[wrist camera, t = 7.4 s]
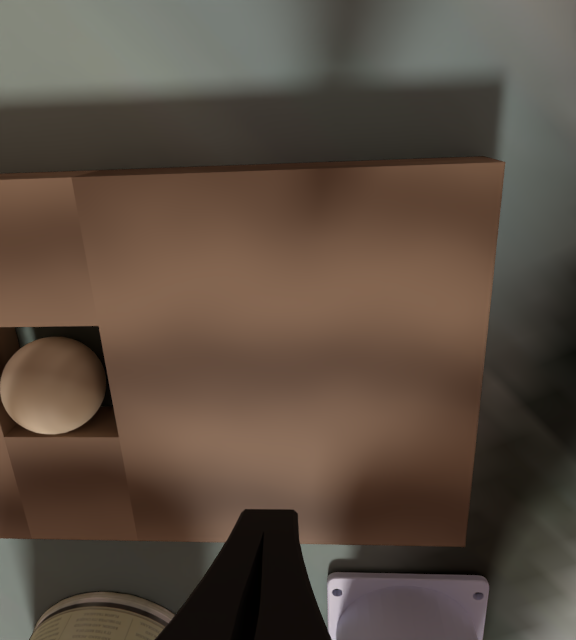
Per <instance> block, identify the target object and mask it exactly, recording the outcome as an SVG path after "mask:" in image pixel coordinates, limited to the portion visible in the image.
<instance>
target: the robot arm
mask: <svg viewBox="0 0 576 640" xmlns="http://www.w3.org/2000/svg"><path fill="white" fill-rule="evenodd" d="M335 589H340V590H335ZM477 592H479V593H477ZM488 594H489V584H488V581H487V579H486V578H485V577H483V576H479V575H445V574H400V573H355V572H334V573H331V574H330V575H329V576H328V578H327V605H328V630H327V627H326V625H325V623H324V620H323V618H322V615H321V612H320V610H319V607H318V604H317V602H316V599H315V596H314V593H313V590H312V587H311V584H310V581H309V578H308V574H307V571H306V567H305V564H304V560H303V556H302V551H301V546H300V541H299V526H298V513H297V512H296V511H295V510H293V509H245V510H244V511H242V512H241V514H240V516H239V518H238V520H237V522H236V524H235V526H234V528H233V530H232V532H231V533H230V535H229V537H228V539H227V540H226V542H225V544H224V546H223V547H222V549H221V551H220V552H219V554H218V555H217V557H216V558H215V560H214V562H213V563H212V565H211V566H210V568H209V569H208V571H207V573H206V574H205V575H204V577H203V578H202V580H201V581H200V583H199V584H198V585H197V587H196V588H195V590H194V591H193V592H192V594H191V595H190V596H189V598H188V599H187V601H186V602H185V603H184V605H183V606H182V607H181V608H180V610H179V611H178V612H177V614H176V615H175V616H174V617H173V618H172V620H171V621H170V622H169V623H168V625H167V626H166V627H165V628H164V629H163V630H162V632H161V633H160V634H159V635H158V636H157V637H156V638H155V640H483V632H484V625H485V617H486V609H487V602H488Z"/></svg>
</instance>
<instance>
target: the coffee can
mask: <svg viewBox="0 0 576 640" xmlns="http://www.w3.org/2000/svg"><path fill="white" fill-rule="evenodd" d="M174 616H175V614H173V613H172V612H170V611H169V610H167V609H165V608H164V607H161V606H159V605H157V604H155V603H153V602H151V601H148V600H146V599H143V598H139V597H136V596H134V595H130V594H120V593H114V592H91V593H85V594H80V595H75V596H73V597H70V598H66V599H64V600H61V601H60V602H59V603H57V604H56V605H54V606H52V607H51V608H50V609H48V610H47V611H46V612H45V613H44V614H43V615H42V616H41V618H40V619H39V620H38V622H37V624H36V626H35V628H34V631H33V634H32V635H31V637H30V639H29V640H155V638H156V637H157V636H158V635H159V634H160V633H161V632H162V630H163V629H164V628H165V627H166V626H167V625H168V623H169V622H170V621H171V620H172V618H173V617H174Z"/></svg>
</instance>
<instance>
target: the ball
mask: <svg viewBox="0 0 576 640" xmlns="http://www.w3.org/2000/svg"><path fill="white" fill-rule="evenodd" d="M105 391H106V376H105V371H104V368H103V366H102V363H101V361H100V360H99V358H98V357H97V355H96V354H95V353H94V352H93V351H92V350H91V349H90V348H89V347H87V346H86V345H84V344H83V343H81V342H79V341H76V340H74V339H70V338H66V337H45V338H41V339H37V340H35V341H33V342H30V343H28V344H26V345H25V346H23V347H22V348H20V349H19V350H18V351H17V352H16V353H15V354H14V355H13V356H12V357H11V358H10V360H9V361H8V362H7V364H6V366H5V368H4V370H3V373H2V376H1V381H0V395H1V400H2V403H3V405H4V407H5V409H6V411H7V413H8V414H9V415H10V417H11V418H12V419H13V420H14V421H15V422H16V423H18V424H19V425H20V426H22V427H24V428H26V429H28V430H30V431H33V432H36V433H41V434H60V433H65V432H68V431H71V430H74V429H76V428H78V427H80V426H82V425H83V424H84V423H86V422H87V421H88V420H89V419H90V418H92V416H93V415H94V414H95V413H96V412H97V410H98V409H99V407H100V405H101V403H102V401H103V399H104V395H105Z"/></svg>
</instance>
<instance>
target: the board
mask: <svg viewBox="0 0 576 640" xmlns="http://www.w3.org/2000/svg"><path fill="white" fill-rule="evenodd" d="M504 169H505V162H503V161H499V160H496V159H492V158H488V157H484V156H478V157H450V158H423V159H395V160H367V161H340V162H312V163H284V164H257V165H229V166H201V167H174V168H146V169H118V170H91V171H63V172H35V173H8V174H0V381H1V376H2V373H3V370H4V368H5V366H6V364H7V362H8V361H9V360H10V358H11V357H12V356H13V355H14V354H15V353H16V352H17V351H18V350H19V349H20V347H19V343H18V339H17V335H16V331H15V327H52V326H99V331H100V337H101V342H102V348H103V353H104V359H105V364H106V369H107V375H108V380H109V386H110V391H111V397H112V402H113V407H99V409H98V410H97V412H96V413H95V414H94V415H93V416H92V418H90V419H89V420H88V421H87V422H86V423H84V424H83V425H82V426H80V427H78V428H76V429H74V430H71V431H68V432H65V433H60V434H41V433H36V432H33V431H30V430H28V429H26V428H24V427H22V426H20V425H19V424H18V423H16V422H15V421H14V420H13V419H12V418H11V417H10V415H9V414H8V413H7V411H6V409H5V407H4V405H3V403H2V400H1V395H0V538H13V539H67V540H122V541H176V542H226V540H227V539H228V537H229V535H230V533H231V532H232V530H233V528H234V526H235V524H236V522H237V520H238V518H239V516H240V514H241V512H242V511H244V510H245V509H293V510H295V511H296V512H297V513H298V526H299V541H300V544H339V545H394V546H448V547H465V542H466V533H467V523H468V514H469V504H470V495H471V485H472V475H473V466H474V456H475V447H476V437H477V428H478V418H479V408H480V399H481V389H482V380H483V370H484V361H485V351H486V341H487V332H488V322H489V313H490V303H491V294H492V284H493V274H494V265H495V255H496V246H497V236H498V227H499V217H500V208H501V198H502V188H503V179H504Z"/></svg>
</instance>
